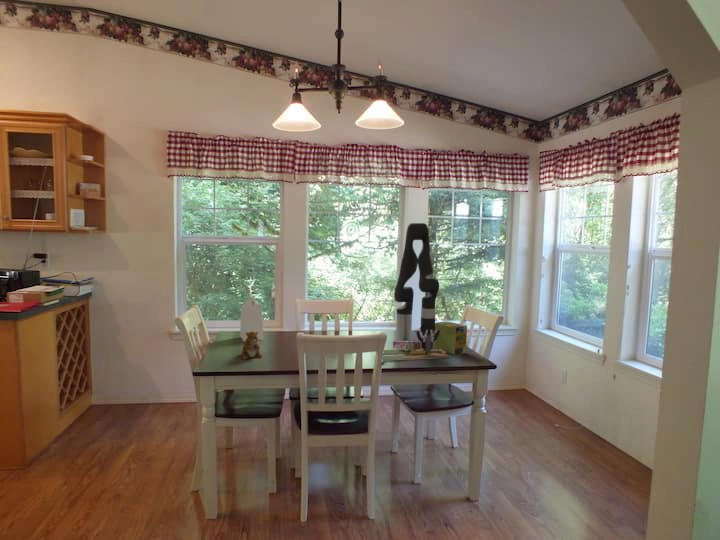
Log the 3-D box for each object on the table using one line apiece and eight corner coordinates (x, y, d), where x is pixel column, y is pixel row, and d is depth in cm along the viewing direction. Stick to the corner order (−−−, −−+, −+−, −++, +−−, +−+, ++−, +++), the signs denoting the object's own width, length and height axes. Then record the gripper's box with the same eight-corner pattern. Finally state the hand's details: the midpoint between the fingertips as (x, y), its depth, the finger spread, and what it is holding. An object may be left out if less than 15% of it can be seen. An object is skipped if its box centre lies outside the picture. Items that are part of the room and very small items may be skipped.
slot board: (396, 354, 238) (396, 349, 238) (438, 352, 244) (438, 347, 244) (404, 361, 226) (404, 356, 226) (448, 359, 231) (448, 354, 231)
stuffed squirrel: (243, 360, 222) (243, 334, 221) (237, 353, 235) (237, 329, 234) (263, 358, 227) (263, 333, 226) (256, 351, 239) (256, 327, 238)
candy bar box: (428, 340, 245) (407, 342, 234) (428, 349, 244) (407, 351, 234) (413, 339, 253) (392, 341, 243) (413, 348, 253) (392, 350, 243)
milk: (240, 337, 270) (239, 294, 268) (259, 335, 275) (259, 294, 273) (243, 341, 260) (243, 297, 257) (263, 340, 264) (263, 296, 262)
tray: (374, 356, 235) (374, 349, 235) (397, 355, 238) (397, 348, 238) (380, 362, 223) (380, 356, 223) (404, 361, 226) (404, 354, 226)
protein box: (454, 356, 238) (455, 327, 237) (432, 350, 250) (433, 322, 249) (466, 353, 245) (467, 325, 244) (444, 347, 257) (445, 320, 255)
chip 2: (415, 354, 236) (415, 349, 236) (422, 354, 237) (423, 348, 237) (418, 356, 232) (418, 351, 232) (425, 356, 233) (425, 350, 233)
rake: (422, 353, 238) (422, 333, 237) (427, 353, 239) (428, 333, 238) (426, 356, 232) (427, 335, 231) (431, 356, 233) (432, 335, 232)
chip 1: (408, 354, 235) (408, 349, 235) (415, 354, 236) (416, 349, 236) (411, 356, 231) (411, 351, 231) (418, 356, 232) (418, 351, 232)
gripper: (437, 314, 239) (436, 346, 240) (412, 315, 236) (412, 347, 237) (443, 317, 232) (442, 349, 233) (418, 318, 228) (417, 351, 230)
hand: (427, 348), depth 235 cm, fingers closed on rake, 3 cm apart
